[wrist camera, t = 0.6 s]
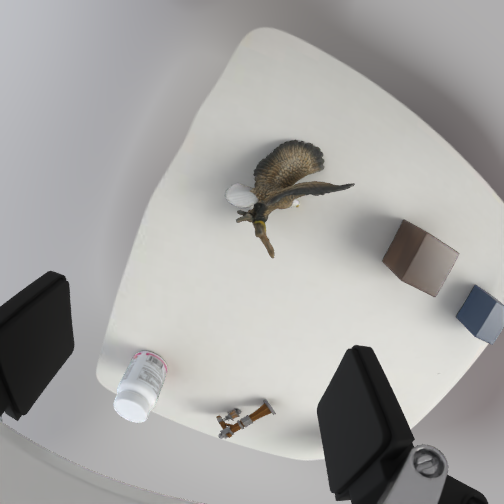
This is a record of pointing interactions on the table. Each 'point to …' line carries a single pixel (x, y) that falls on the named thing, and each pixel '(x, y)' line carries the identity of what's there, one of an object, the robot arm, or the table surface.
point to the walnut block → (420, 258)
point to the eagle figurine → (280, 185)
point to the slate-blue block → (482, 315)
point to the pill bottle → (140, 386)
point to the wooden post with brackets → (245, 421)
